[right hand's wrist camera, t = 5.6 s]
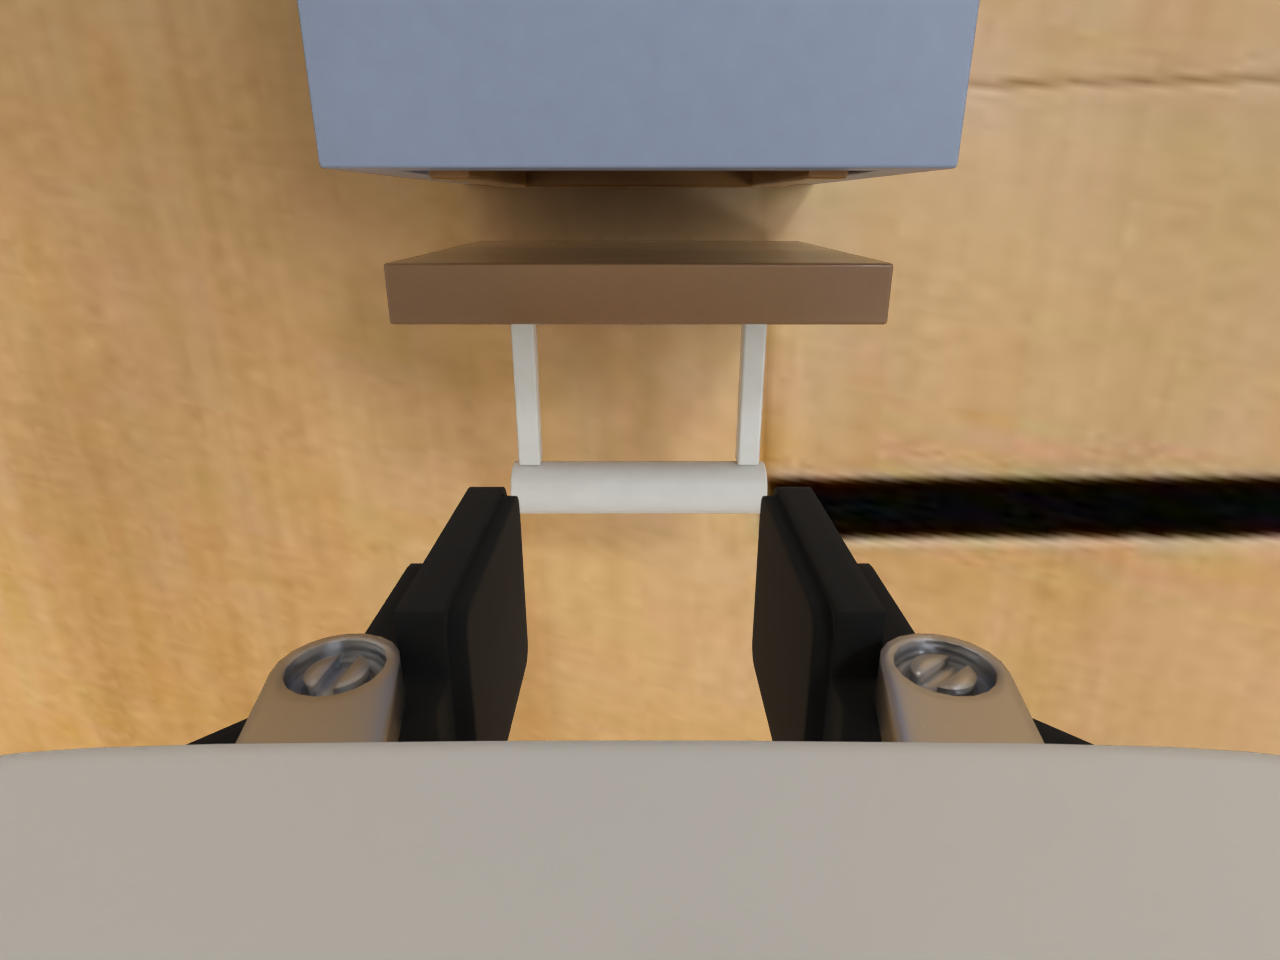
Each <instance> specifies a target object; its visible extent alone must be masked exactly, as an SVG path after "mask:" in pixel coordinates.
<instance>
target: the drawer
mask: <svg viewBox="0 0 1280 960" xmlns="http://www.w3.org/2000/svg"><path fill="white" fill-rule="evenodd" d="M428 172H429V177H430V178H432V179H438V180H446V181H455V182H463V183H471V184H480V185H488V186H496V187H506V188H772V187H781V186H790V185H798V184H806V183H814V182H822V181H831V180H839V179H845V178H847V176H848V171H428ZM384 271H385V280H386V289H387V298H388V306H389V315H390V322H391V323H392V324H511V336H512V353H513V370H514V387H515V404H516V421H517V438H518V455H519V461H516V462H514V464H513V467H512V473H511V496H518V499H519V507H520V514H760V507H761V499H762V496H767V473H766V467H765V464H764V462H762V461H759V452H760V435H761V418H762V400H763V383H764V366H765V349H766V332H767V324H886V322H887V316H888V308H889V299H890V290H891V281H892V272H893V265H892V264H891V263H887V262H882V261H878V260H874V259H870V258H866V257H861V256H857V255H853V254H849V253H845V252H840V251H836V250H832V249H828V248H824V247H819V246H815V245H811V244H807V243H803V242H799V241H480V242H475V243H471V244H467V245H463V246H458V247H454V248H450V249H446V250H441V251H437V252H433V253H429V254H424V255H420V256H416V257H412V258H407V259H403V260H399V261H395V262H390V263H386V264H385V265H384ZM536 324H742V328H741V350H740V371H739V393H738V414H737V436H736V457H735V458H736V460H737V461H542V458H543V457H542V436H541V415H540V394H539V372H538V351H537V330H536Z"/></svg>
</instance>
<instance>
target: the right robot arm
mask: <svg viewBox="0 0 1280 960" xmlns="http://www.w3.org/2000/svg"><path fill="white" fill-rule="evenodd" d="M527 653H528V640H527V623H526V606H525V589H524V573H523V556H522V539H521V523H520V507H519V499H518V496H507V493H506V490H505V488H504V487H470V488H468V490H467V491H466V493H465V495H464V496H463V498H462V500H461V501H460V503H459V505H458V506H457V508H456V510H455V511H454V513H453V515H452V516H451V518H450V520H449V521H448V523H447V525H446V526H445V528H444V529H443V531H442V533H441V534H440V536H439V538H438V539H437V541H436V543H435V544H434V546H433V548H432V549H431V551H430V553H429V554H428V556H427V558H426V559H425V561H424V563H423V564H410V565H409V566H408V567H407V569H406V570H405V572H404V573H403V575H402V577H401V578H400V580H399V581H398V583H397V584H396V586H395V587H394V589H393V591H392V592H391V594H390V595H389V597H388V598H387V600H386V602H385V603H384V605H383V606H382V608H381V609H380V611H379V612H378V614H377V616H376V617H375V619H374V620H373V622H372V623H371V625H370V626H369V628H368V630H367V631H366V633H365V634H343V635H337V636H331V637H327V638H323V639H320V640H317V641H314V642H311V643H308V644H306V645H304V646H302V647H300V648H298V649H296V650H294V651H292V652H291V653H289V654H288V655H287V656H285V657H284V658H283V659H281V660H280V661H279V662H278V663H277V664H276V666H275V667H274V668H273V670H272V671H271V672H270V674H269V676H268V678H267V680H266V682H265V684H264V686H263V688H262V690H261V692H260V694H259V697H258V699H257V701H256V703H255V705H254V707H253V709H252V711H251V713H250V715H249V717H248V718H247V719H245V720H242V721H240V722H238V723H236V724H233V725H231V726H229V727H226V728H224V729H222V730H219V731H217V732H215V733H212V734H210V735H208V736H205V737H203V738H201V739H198V740H196V741H194V742H191V743H189V744H187V745H168V746H136V747H103V748H82V749H68V750H54V751H40V752H26V753H15V754H8V755H0V960H1280V755H1271V754H1263V753H1255V752H1243V751H1227V750H1211V749H1195V748H1179V747H1148V746H1111V745H1093V744H1091V743H1089V742H1086V741H1084V740H1082V739H1079V738H1077V737H1075V736H1072V735H1070V734H1068V733H1065V732H1063V731H1061V730H1058V729H1056V728H1054V727H1051V726H1049V725H1047V724H1044V723H1042V722H1040V721H1038V720H1035V719H1033V718H1032V717H1031V715H1030V713H1029V711H1028V709H1027V707H1026V705H1025V703H1024V701H1023V699H1022V697H1021V694H1020V692H1019V690H1018V688H1017V686H1016V684H1015V682H1014V680H1013V678H1012V676H1011V674H1010V672H1009V671H1008V670H1007V668H1006V667H1005V666H1004V664H1003V663H1002V662H1001V661H1000V660H999V659H997V658H996V657H995V656H993V655H992V654H991V653H989V652H988V651H986V650H984V649H982V648H980V647H978V646H976V645H974V644H972V643H969V642H966V641H963V640H960V639H957V638H953V637H949V636H943V635H937V634H915V633H914V631H913V630H912V628H911V626H910V625H909V623H908V622H907V620H906V619H905V617H904V616H903V614H902V612H901V611H900V609H899V608H898V606H897V605H896V603H895V601H894V600H893V598H892V597H891V595H890V594H889V592H888V591H887V589H886V587H885V586H884V584H883V583H882V581H881V580H880V578H879V577H878V575H877V573H876V572H875V570H874V569H873V567H872V566H871V565H870V564H857V562H856V561H855V559H854V558H853V556H852V554H851V553H850V551H849V549H848V548H847V546H846V544H845V543H844V541H843V539H842V538H841V536H840V534H839V533H838V531H837V529H836V528H835V526H834V525H833V523H832V521H831V520H830V518H829V516H828V515H827V513H826V511H825V510H824V508H823V506H822V505H821V503H820V501H819V500H818V498H817V496H816V495H815V493H814V491H813V490H812V488H810V487H776V488H775V490H774V493H773V496H762V499H761V507H760V523H759V540H758V556H757V573H756V590H755V606H754V623H753V640H752V653H753V663H754V668H755V672H756V676H757V680H758V684H759V688H760V692H761V696H762V700H763V704H764V708H765V712H766V716H767V720H768V724H769V728H770V732H771V736H772V740H773V741H507V740H508V736H509V732H510V728H511V724H512V720H513V716H514V712H515V708H516V704H517V700H518V696H519V692H520V688H521V684H522V680H523V676H524V672H525V668H526V663H527Z"/></svg>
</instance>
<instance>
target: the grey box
mask: <svg viewBox="0 0 1280 960" xmlns="http://www.w3.org/2000/svg"><path fill="white" fill-rule="evenodd" d="M297 4H298V11H299V18H300V25H301V33H302V40H303V47H304V55H305V62H306V69H307V77H308V84H309V91H310V99H311V106H312V113H313V121H314V128H315V135H316V143H317V150H318V157H319V164H320V166H321V167H322V168H325V169H334V170H343V171H353V172H362V173H371V174H380V175H388V176H397V177H406V178H415V179H424V180H433V181H442V182H451V183H460V184H471V183H463V182H455V181H446V180H438V179H432V178H430V177H429V172H428V171H848V176H847V178H845V179H839V180H831V181H822V182H814V183H806V184H819V183H828V182H837V181H845V180H854V179H863V178H872V177H881V176H890V175H898V174H907V173H916V172H925V171H934V170H943V169H952V168H955V167H956V166H957V163H958V155H959V148H960V141H961V133H962V126H963V118H964V111H965V104H966V96H967V89H968V82H969V74H970V67H971V59H972V52H973V45H974V37H975V30H976V22H977V15H978V8H979V0H297Z"/></svg>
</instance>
